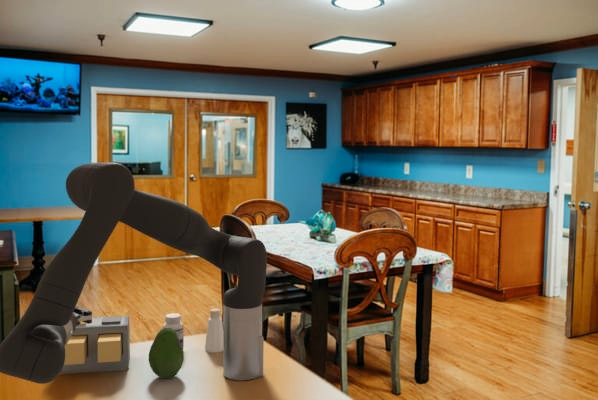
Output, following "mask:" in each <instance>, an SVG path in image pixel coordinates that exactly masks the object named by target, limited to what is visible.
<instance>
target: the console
mask: <svg viewBox="0 0 598 400" xmlns="http://www.w3.org/2000/svg"><path fill="white" fill-rule="evenodd" d="M130 330H131V329H130V315H120V316H119V315H118V316H117V315H116V316H102V317H101V316H100V317H92V323H90V324H88V323H82V321H81V323H80V324H79V325H77V326H76V328H75V331H74V332H73V334H72V335H88V354H87V357H86V360H85V363H84V364H72V365H64V366H63V368H62V371H61V372H60V374H59V375H64V374H78V373H79V374H80V373H94V372H95V373H96V372H107V371H119V370H121V371H123V370H129V366H130V361H131V347H130V346H131V345H130V344H131V342H130V341H131V339H130ZM106 333H122V355H121V360H120V361H116V362H101V363H98V339H99V336H100V334H106Z"/></svg>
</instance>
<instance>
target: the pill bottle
mask: <svg viewBox="0 0 598 400" xmlns="http://www.w3.org/2000/svg"><path fill="white" fill-rule="evenodd" d="M164 318H165V319H164V320H165V322H164V323H163V325H162V329H164V328H170V327H171V328H172V329H173V330H174V331H175V332H176V334H177V336H178V339H179V341H180V344H181V346H182V349H183V350H184V347H185V345H184V323H183V322H181V320H182V317H181V314H180V313H176V312H175V313H174V312H173V313H172V312H171V313H167V314H166V315H165V317H164Z"/></svg>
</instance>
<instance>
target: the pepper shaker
mask: <svg viewBox="0 0 598 400" xmlns="http://www.w3.org/2000/svg"><path fill="white" fill-rule="evenodd" d="M209 315H210V316H209V318H208V319H207V327H206V336H205V344H204V345H205V346H204V350H205V351H206V352H208V353H212V354H214V353H215V354H216V353H221V352H222V353H223V319H222V318H221V309H220V308H215V307H214V308H211V309H209Z"/></svg>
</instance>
